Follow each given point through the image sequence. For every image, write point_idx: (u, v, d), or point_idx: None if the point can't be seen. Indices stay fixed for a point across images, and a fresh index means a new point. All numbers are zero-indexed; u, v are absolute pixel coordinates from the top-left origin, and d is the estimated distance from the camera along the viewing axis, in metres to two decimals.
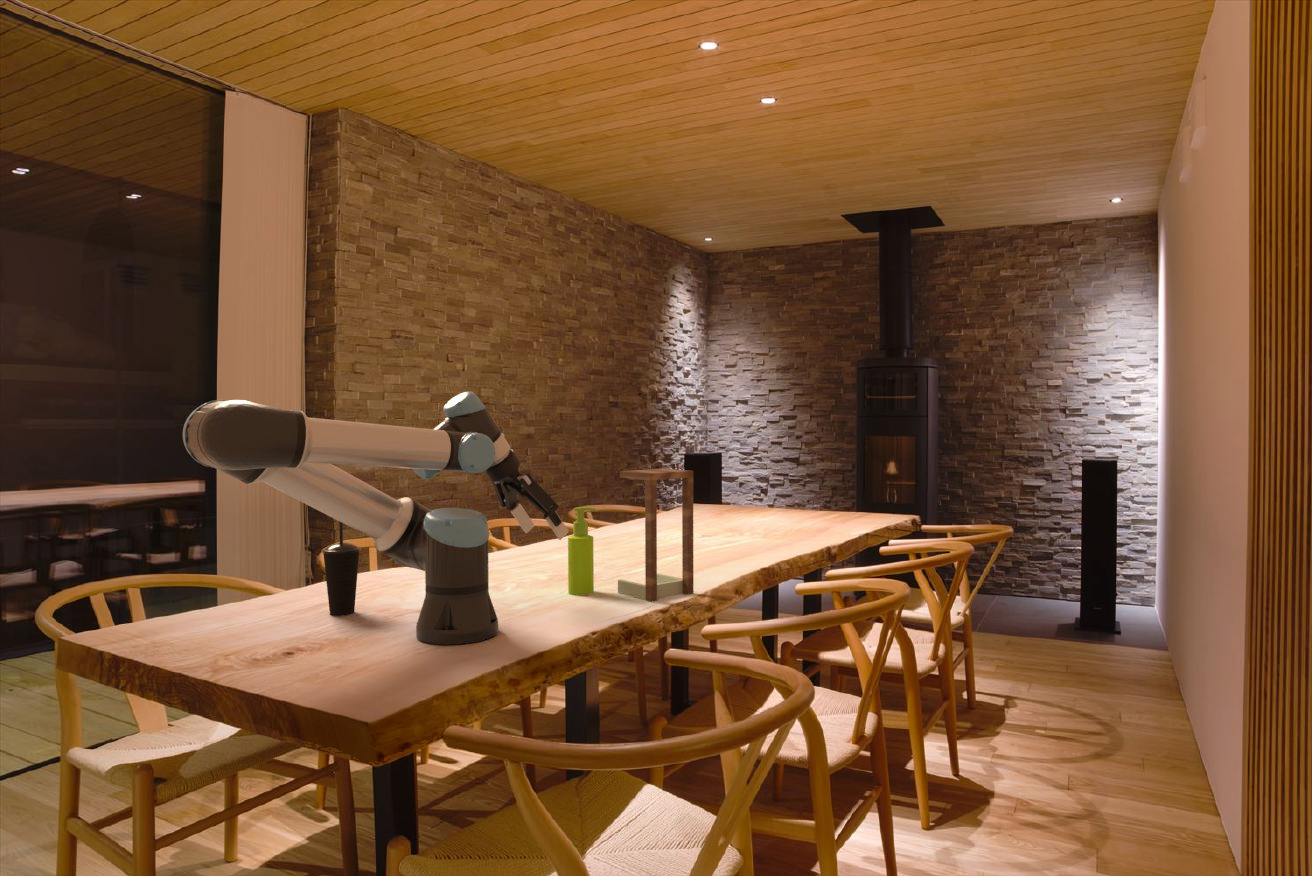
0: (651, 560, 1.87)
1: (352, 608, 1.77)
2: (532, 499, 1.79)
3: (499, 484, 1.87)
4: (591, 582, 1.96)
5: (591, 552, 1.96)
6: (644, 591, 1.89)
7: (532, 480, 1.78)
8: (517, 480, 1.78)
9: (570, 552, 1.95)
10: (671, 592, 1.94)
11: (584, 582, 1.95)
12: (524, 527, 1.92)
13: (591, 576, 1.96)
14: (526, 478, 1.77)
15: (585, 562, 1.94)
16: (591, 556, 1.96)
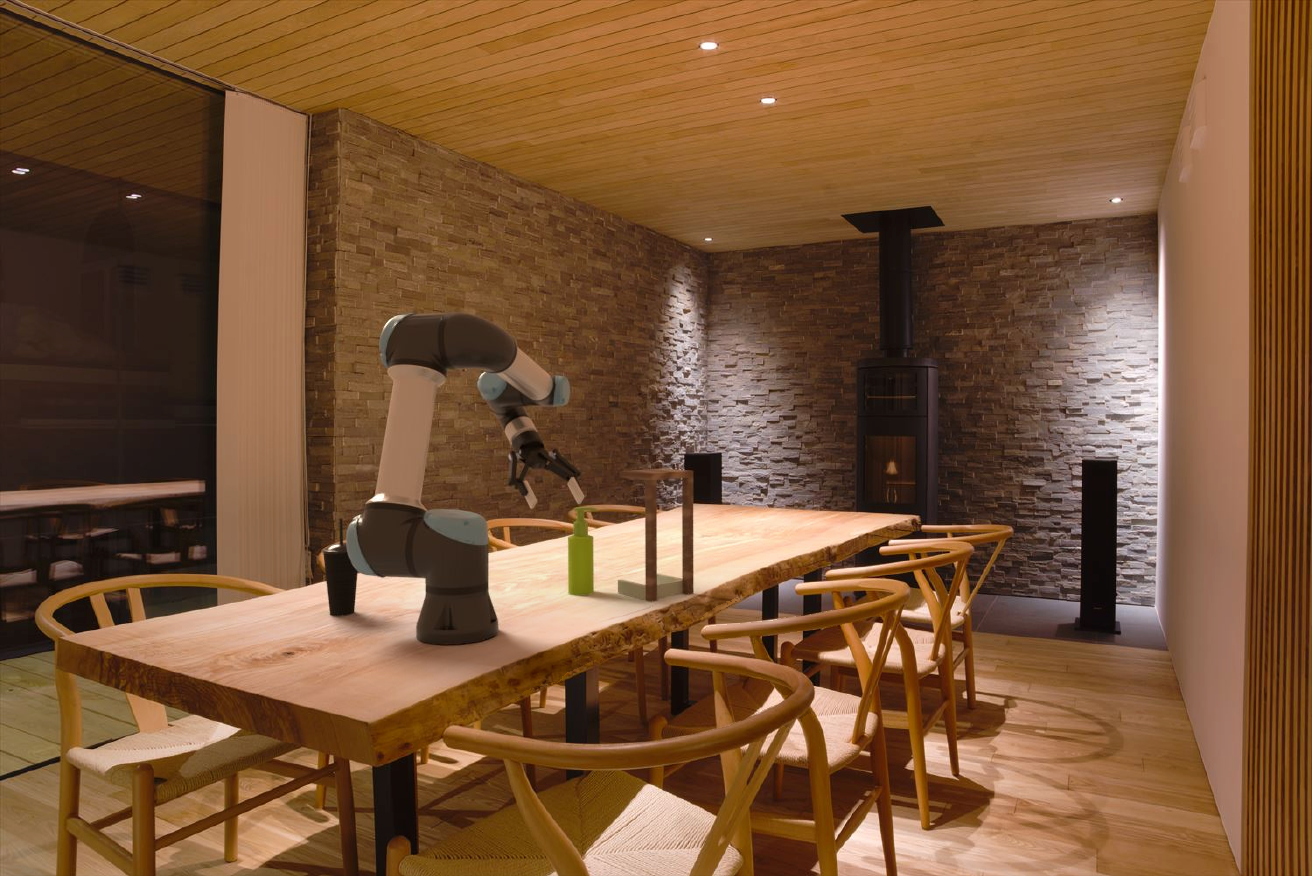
0: (651, 560, 1.87)
1: (352, 608, 1.77)
2: None
3: None
4: (591, 582, 1.96)
5: (591, 552, 1.96)
6: (644, 591, 1.89)
7: None
8: None
9: (570, 552, 1.95)
10: (671, 592, 1.94)
11: (584, 582, 1.95)
12: None
13: (591, 576, 1.96)
14: None
15: (585, 562, 1.94)
16: (591, 556, 1.96)
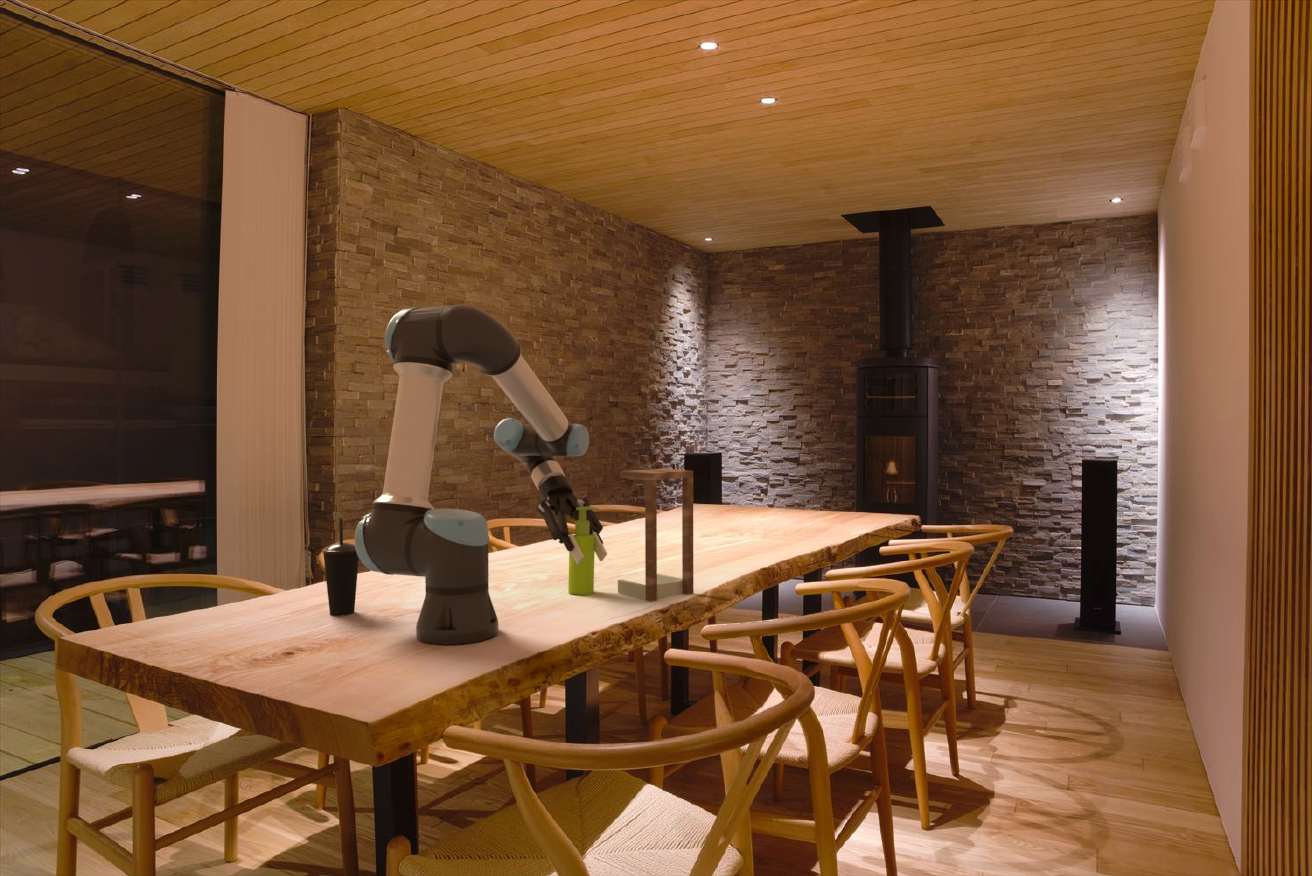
0: (651, 560, 1.87)
1: (352, 608, 1.77)
2: None
3: None
4: (591, 582, 1.96)
5: (592, 552, 1.96)
6: (644, 591, 1.89)
7: None
8: None
9: None
10: (671, 592, 1.94)
11: (585, 582, 1.95)
12: None
13: (591, 576, 1.96)
14: None
15: (585, 561, 1.95)
16: (592, 556, 1.96)
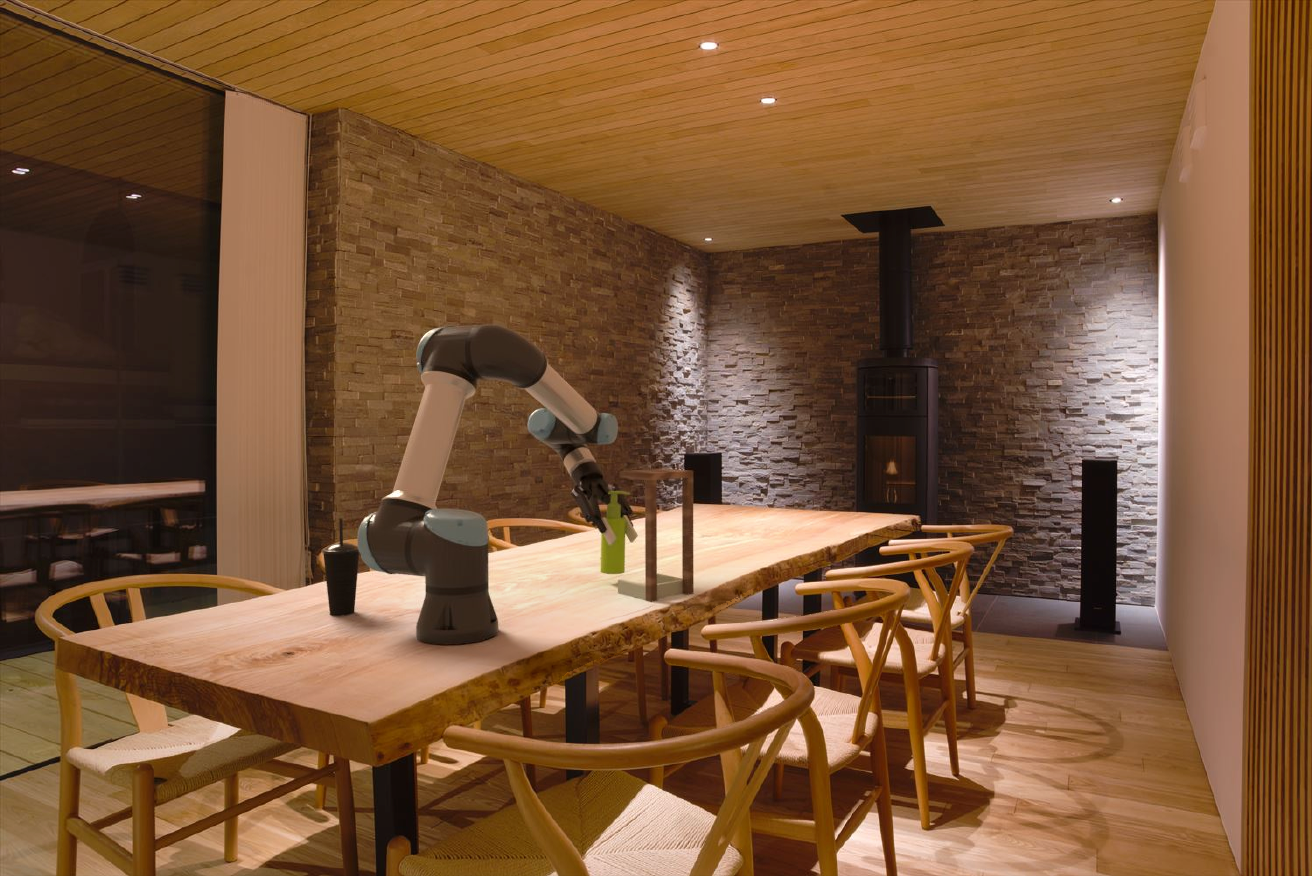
0: (651, 560, 1.87)
1: (352, 608, 1.77)
2: None
3: None
4: (622, 562, 2.06)
5: (623, 533, 2.06)
6: (644, 591, 1.89)
7: None
8: (607, 484, 2.16)
9: None
10: (671, 592, 1.94)
11: (616, 562, 2.05)
12: None
13: (623, 556, 2.06)
14: None
15: (617, 542, 2.05)
16: (623, 537, 2.06)
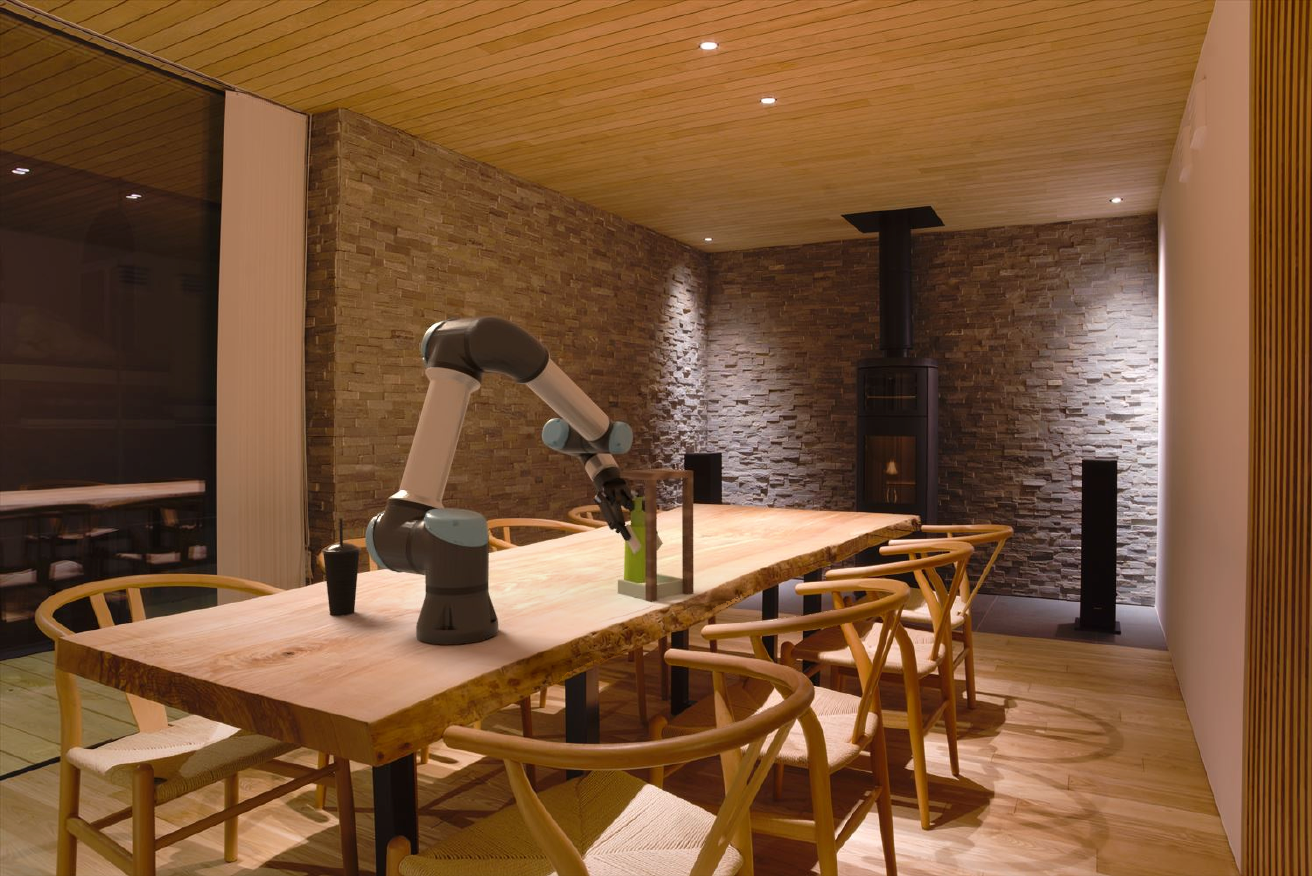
0: (651, 560, 1.87)
1: (352, 608, 1.77)
2: None
3: None
4: None
5: None
6: (644, 591, 1.89)
7: None
8: (630, 489, 2.10)
9: None
10: (671, 592, 1.94)
11: (641, 571, 1.99)
12: None
13: None
14: None
15: (642, 550, 1.99)
16: None
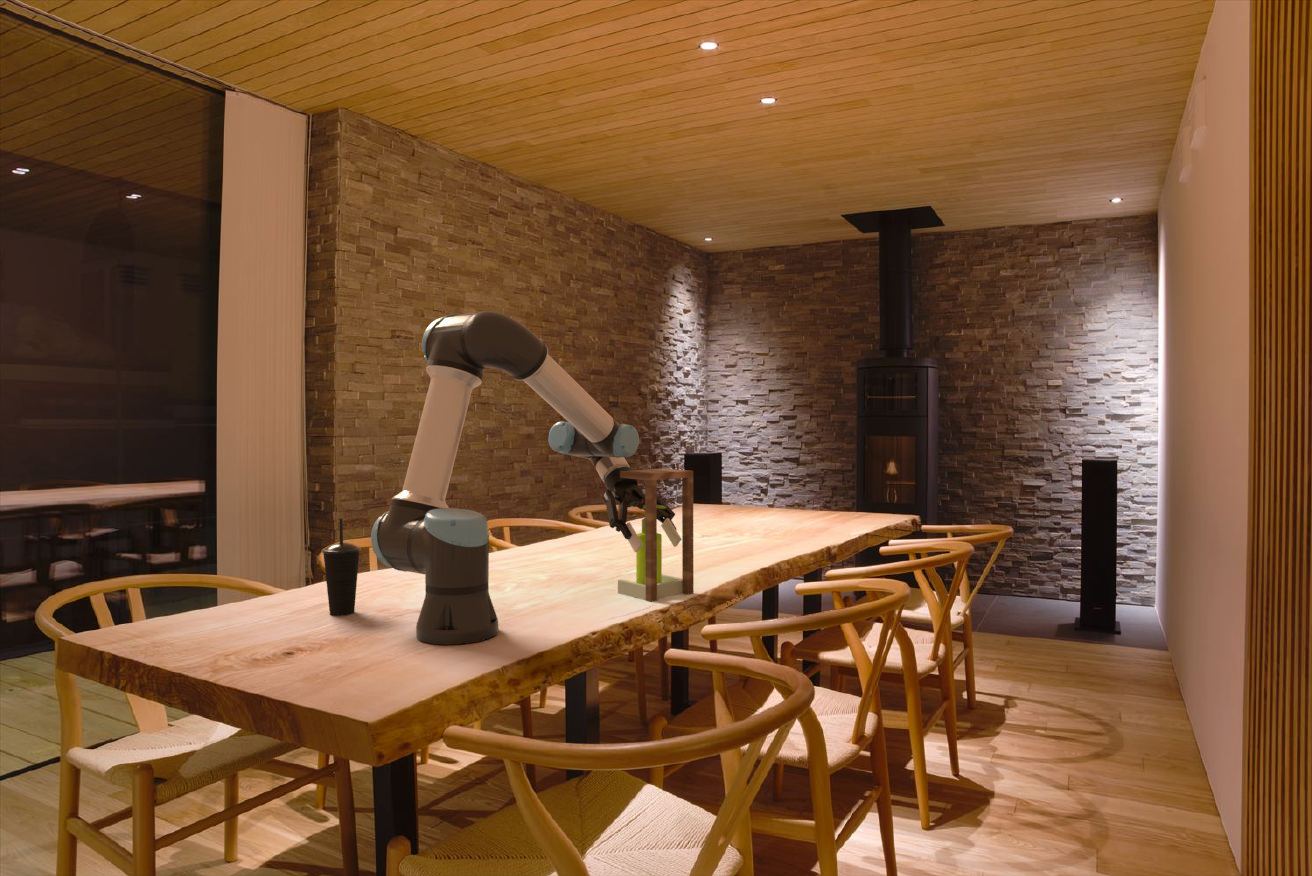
0: (651, 560, 1.87)
1: (352, 608, 1.77)
2: None
3: None
4: (660, 580, 1.96)
5: (660, 550, 1.96)
6: (644, 591, 1.89)
7: None
8: None
9: (639, 550, 1.95)
10: (671, 592, 1.94)
11: None
12: None
13: (660, 574, 1.96)
14: None
15: None
16: (660, 554, 1.96)
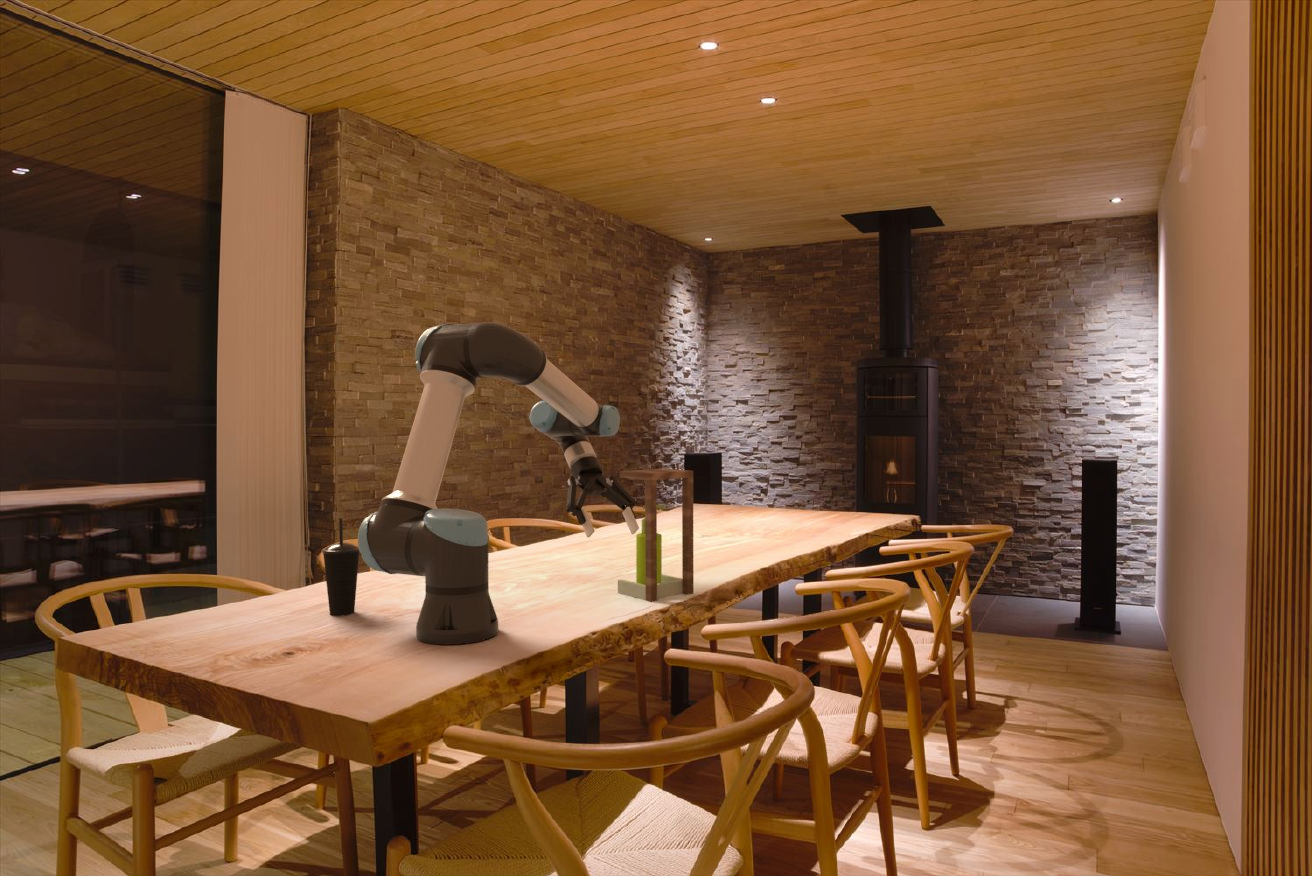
0: (651, 560, 1.87)
1: (352, 608, 1.77)
2: None
3: None
4: (660, 580, 1.96)
5: (660, 550, 1.96)
6: (644, 591, 1.89)
7: None
8: None
9: (639, 550, 1.95)
10: (671, 592, 1.94)
11: None
12: None
13: (660, 574, 1.96)
14: None
15: None
16: (660, 554, 1.96)
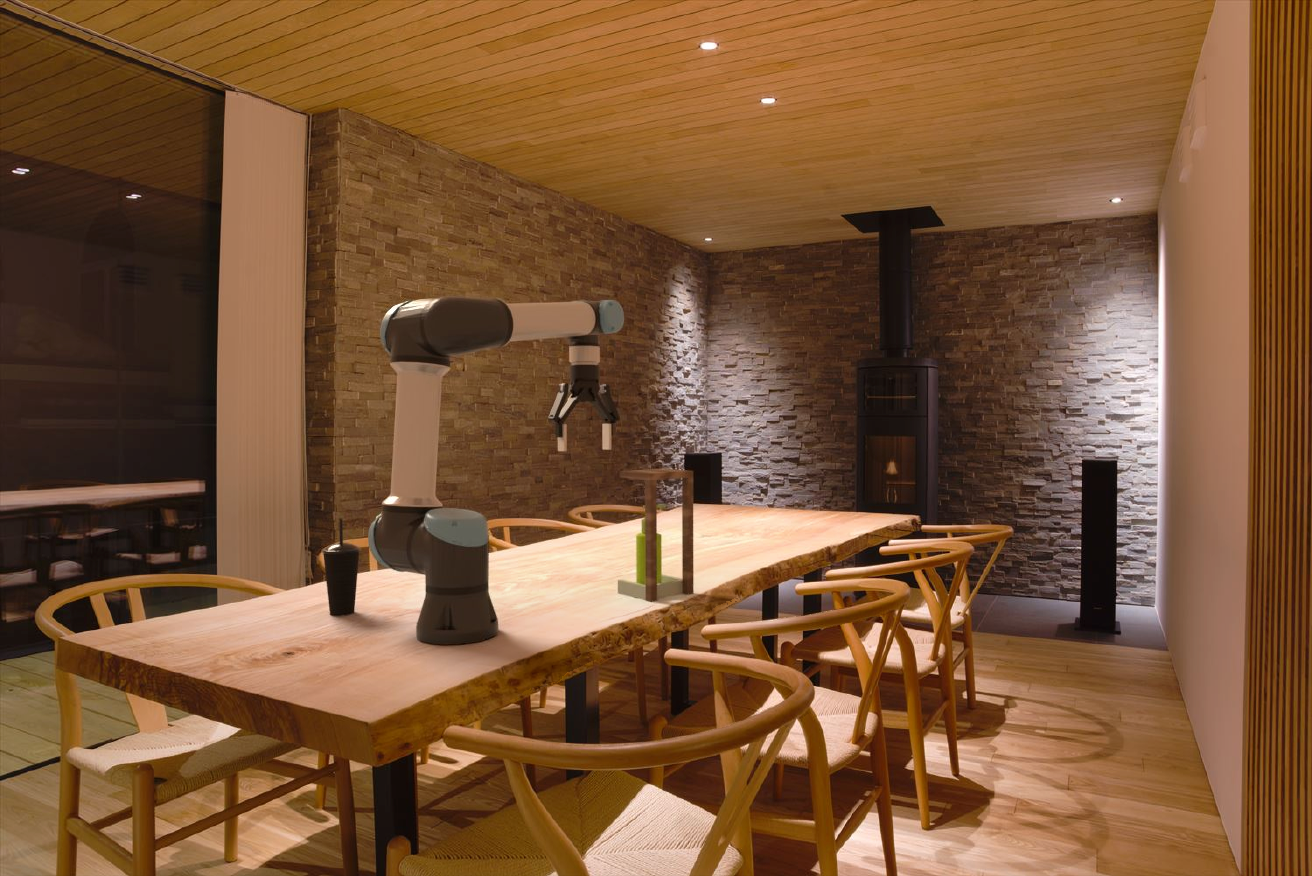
0: (651, 560, 1.87)
1: (352, 608, 1.77)
2: None
3: None
4: (660, 580, 1.96)
5: (660, 550, 1.96)
6: (644, 591, 1.89)
7: None
8: (599, 386, 2.11)
9: (639, 550, 1.95)
10: (671, 592, 1.94)
11: None
12: None
13: (660, 574, 1.96)
14: None
15: None
16: (660, 554, 1.96)
